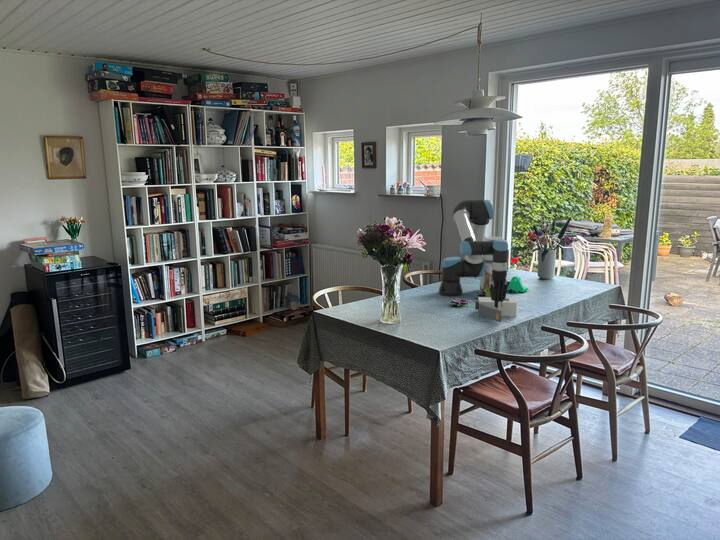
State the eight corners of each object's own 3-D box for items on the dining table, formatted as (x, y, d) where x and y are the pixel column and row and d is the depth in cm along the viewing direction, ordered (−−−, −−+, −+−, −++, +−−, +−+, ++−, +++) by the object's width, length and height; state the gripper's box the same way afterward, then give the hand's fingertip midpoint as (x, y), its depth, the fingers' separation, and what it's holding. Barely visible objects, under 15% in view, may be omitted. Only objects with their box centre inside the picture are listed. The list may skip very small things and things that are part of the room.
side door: (477, 314, 298) (477, 303, 297) (479, 313, 299) (480, 303, 297) (498, 322, 283) (499, 311, 282) (501, 321, 284) (501, 311, 283)
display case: (481, 292, 346) (486, 238, 339) (479, 288, 357) (484, 236, 349) (499, 293, 346) (505, 239, 338) (497, 289, 356) (502, 237, 349)
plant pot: (493, 301, 328) (494, 287, 326) (503, 305, 319) (503, 290, 317) (480, 303, 324) (481, 289, 323) (489, 306, 316) (490, 292, 314)
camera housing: (475, 315, 299) (476, 300, 297) (474, 310, 309) (475, 295, 307) (515, 316, 296) (516, 301, 294) (513, 311, 306) (514, 296, 304)
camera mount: (528, 291, 351) (529, 276, 349) (522, 293, 346) (523, 277, 344) (512, 288, 359) (512, 273, 357) (506, 290, 354) (506, 275, 352)
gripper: (494, 272, 275) (492, 316, 280) (514, 269, 281) (512, 313, 286) (484, 269, 282) (483, 313, 287) (504, 267, 287) (502, 309, 292)
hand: (497, 313), depth 286 cm, fingers closed
